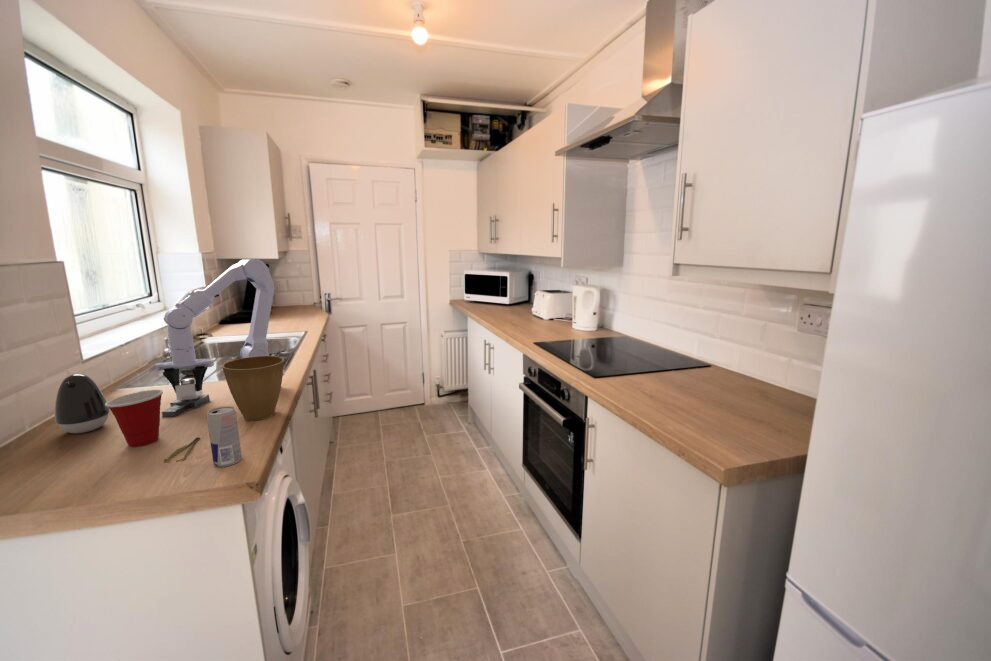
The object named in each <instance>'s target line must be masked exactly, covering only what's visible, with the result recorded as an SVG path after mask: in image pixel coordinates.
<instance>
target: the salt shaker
mask: <svg viewBox="0 0 991 661" xmlns="http://www.w3.org/2000/svg"><path fill="white" fill-rule="evenodd" d="M193 369H195V368H182V369H179V373H181V374H182V377H181V379H180V380H183V379H187V378H194V375H193V372H192V370H193Z"/></svg>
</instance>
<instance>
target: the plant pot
mask: <svg viewBox="0 0 991 661" xmlns="http://www.w3.org/2000/svg"><path fill="white" fill-rule="evenodd" d="M284 363H285V359H284V357H282V356H276V355H275V356H274V355H269V356H256V357H247V358H242V357H240V358H236V359H233V360H228V361H227V362H225V363H223V364H222V365H221V366H222V371H223V375H224V378H225V380H226V383H227V386H228V389H229V391H230V394H231V396H232V398H233V401H234V402H235V404H236V407H237V408H238V410H239V412H240V414H241V415H242V417H243V418H244V420H247V421H251V422H252V421H253V422H254V421H262V420H266V419H268V418H270V417H272V416H273V415H274V414H275V411H276V407H277V404H278V402H279V401H278V400H279V398H280V392H281V387H282V383H283V375H284V374H283V373H284Z"/></svg>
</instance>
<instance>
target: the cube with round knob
mask: <svg viewBox="0 0 991 661" xmlns="http://www.w3.org/2000/svg"><path fill="white" fill-rule="evenodd" d="M175 389H176V393H175V394H176V395H175V396H176V400H187V399H197V398H198V397H199V396H200V395H204V393H203V389H202V390H200V391H197V389H196V382H195V378H187V379H180V383H179V384H177V385H176V386H175Z"/></svg>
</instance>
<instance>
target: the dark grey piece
mask: <svg viewBox="0 0 991 661" xmlns="http://www.w3.org/2000/svg"><path fill="white" fill-rule="evenodd" d="M209 400H210V394H202V395H200V396H199V397H198V398H197V399H187V400H177V399H175V400H173V401H171V402H170V403H169V404H170V407H169V408H167V409H165V410H162V411H161V415H162V417H163V418H167V417H169V418H170V417H171V418H172V417H178V416H179V415H180V414H182V413H184V412H187V410H190V409H198V408H199V407H200V406H203V405H204V404H206V403H207V401H208V402H210V401H211V400H210V401H209ZM202 404H203V405H202Z"/></svg>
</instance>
